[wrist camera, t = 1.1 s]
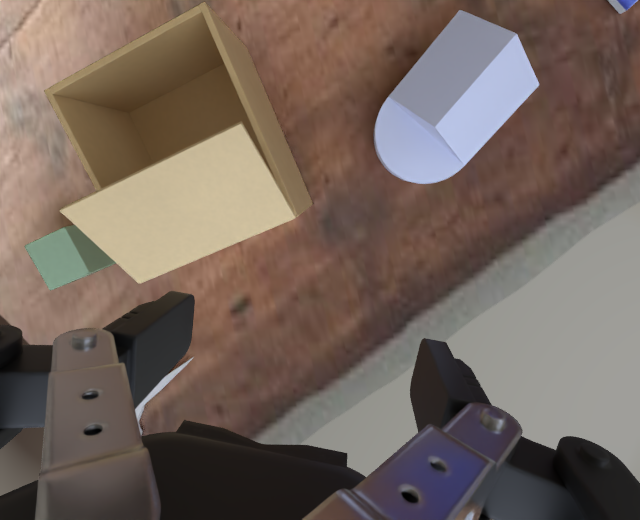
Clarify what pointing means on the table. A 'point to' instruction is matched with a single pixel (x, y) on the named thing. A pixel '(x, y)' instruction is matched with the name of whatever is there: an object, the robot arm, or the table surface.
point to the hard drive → (622, 4)
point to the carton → (171, 102)
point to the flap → (184, 206)
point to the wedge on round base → (452, 100)
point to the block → (66, 256)
